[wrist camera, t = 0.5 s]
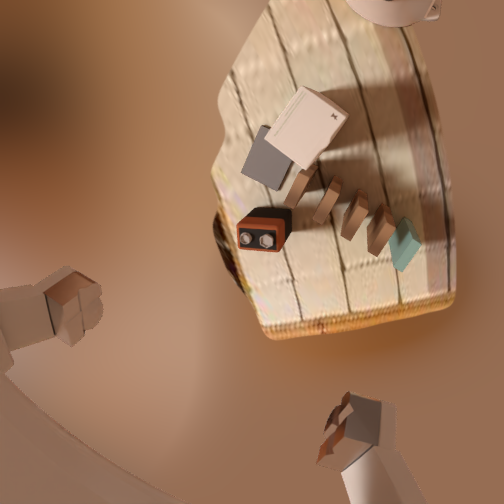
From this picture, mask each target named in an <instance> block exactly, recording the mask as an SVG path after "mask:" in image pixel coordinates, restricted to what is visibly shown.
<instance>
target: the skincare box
mask: <svg viewBox="0 0 504 504" xmlns="http://www.w3.org/2000/svg"><path fill="white" fill-rule="evenodd" d="M348 117H349V114H348V113H347V112H346V111H344V110H343V109H342V108H341V107H339V106H338V105H337V104H335V103H334V102H333V101H331V100H330V99H328V98H327V97H326V96H324V95H323V94H321V93H319V92H317V91H315V90H312V89H310V88H307V87H305V86H301V87H300V88H299V90H298V91H297V92H296V94H295V95H294V96H293V98H292V99H291V100H290V102H289V103H288V105H287V106H286V107H285V109H284V110H283V112H282V113H281V114H280V116H279V117H278V119H277V120H276V121H275V123H274V124H273V126H272V127H271V129H270V130H269V132H268V133H267V135H266V136H265V138H264V139H265V140H266V141H268V142H269V143H270V144H272V145H273V146H274V147H276V148H277V149H278V150H280V151H281V152H282V153H283V154H285V155H286V156H287V157H289V158H290V159H291V160H293V161H294V162H295V163H297V164H298V165H299V166H300V167H302V168H303V169H304V170H307V169H308V168H309V167H310V166H311V165H312V164H313V163H314V162H315V160H316V159H317V158H318V157H319V156H320V155H321V153H322V152H323V151H324V150H325V149H326V148H327V146H328V145H329V144H330V143H331V141H332V140H333V139H334V137H335V136H336V135H337V133H338V132H339V130H340V129H341V127H342V126H343V124H344V123H345V122H346V120H347V119H348Z"/></svg>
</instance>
